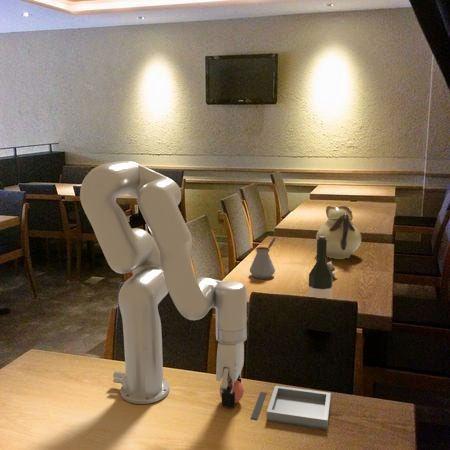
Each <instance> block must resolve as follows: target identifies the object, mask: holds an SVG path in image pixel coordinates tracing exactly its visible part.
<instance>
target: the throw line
mask: <svg viewBox="0 0 450 450" xmlns="http://www.w3.org/2000/svg"><path fill="white" fill-rule="evenodd" d="M266 397H267V392H265V391H260V392H259V396H258V398H257V400H256V403H255V406H254V408H253V411H252V413H251V417H250V419H251V420H257V421H258V419H259V416H260V413H261V411H262V408H263V405H264V401H265V399H266Z"/></svg>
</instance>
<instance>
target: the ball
mask: <svg viewBox="0 0 450 450" xmlns="http://www.w3.org/2000/svg"><path fill="white" fill-rule="evenodd" d="M228 380H232V379H231V378H230V379H228ZM228 386H230V388H231V383H228ZM234 392H235V404H236V403H238V402H240V401H241V399H242V398H243V396H244V393H245V391H244V386H243V384H242V381H241V382H240V381H238V380H236V381H235V382H234ZM219 395H220V397H221V399H222V389H221V385H220V387H219Z"/></svg>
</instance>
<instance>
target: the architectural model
mask: <svg viewBox="0 0 450 450" xmlns="http://www.w3.org/2000/svg"><path fill="white" fill-rule="evenodd" d="M326 263H327V265H328V266H329V268H330V270H331V272H332V273H333V277H334V278H335V277H336V275H335V273H337V272H338V271H339V270H338V269H336V267H335V266H334V265H333V263H332V260H331V261H329V262H326Z"/></svg>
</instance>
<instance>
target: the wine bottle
mask: <svg viewBox="0 0 450 450" xmlns="http://www.w3.org/2000/svg"><path fill="white" fill-rule="evenodd" d="M326 254H327V239H326V237H325V236H319V238H318V239H317V240H316V263H315V264H314V266H313V267H312V269H311V270H310V272H309V273H308V294H307V295H308V296H307V297H317V298H327V299H332V300H333V282H334V281H333V279H334V278H333V273H332V272H331V270H330V268H329V266H328V265H327V263H328V262H327V257H326Z"/></svg>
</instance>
